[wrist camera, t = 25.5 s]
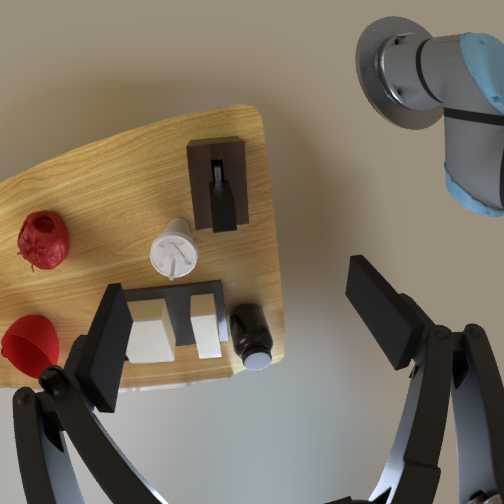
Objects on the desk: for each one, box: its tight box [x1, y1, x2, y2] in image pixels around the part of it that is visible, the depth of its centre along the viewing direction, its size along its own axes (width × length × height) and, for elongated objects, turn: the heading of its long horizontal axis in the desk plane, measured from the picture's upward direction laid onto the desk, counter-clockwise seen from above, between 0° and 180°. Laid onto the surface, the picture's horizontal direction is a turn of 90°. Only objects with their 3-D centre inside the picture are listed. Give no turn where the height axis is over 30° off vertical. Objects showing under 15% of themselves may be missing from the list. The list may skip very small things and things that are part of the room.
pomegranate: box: [17, 210, 69, 272], centre depth 38 cm, size 10×10×9 cm
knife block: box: [187, 136, 249, 230], centre depth 40 cm, size 7×11×8 cm, turn 3°
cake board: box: [123, 280, 229, 346], centre depth 53 cm, size 20×14×1 cm
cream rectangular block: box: [190, 293, 222, 359], centre depth 51 cm, size 4×10×6 cm, turn 3°
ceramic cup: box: [1, 315, 59, 379], centre depth 46 cm, size 13×17×10 cm
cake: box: [126, 299, 175, 363], centre depth 50 cm, size 9×10×6 cm
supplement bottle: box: [229, 304, 273, 370], centre depth 51 cm, size 7×7×12 cm
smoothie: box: [150, 218, 197, 280], centre depth 40 cm, size 6×6×14 cm
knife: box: [209, 159, 237, 233], centre depth 34 cm, size 2×6×18 cm, turn 2°
